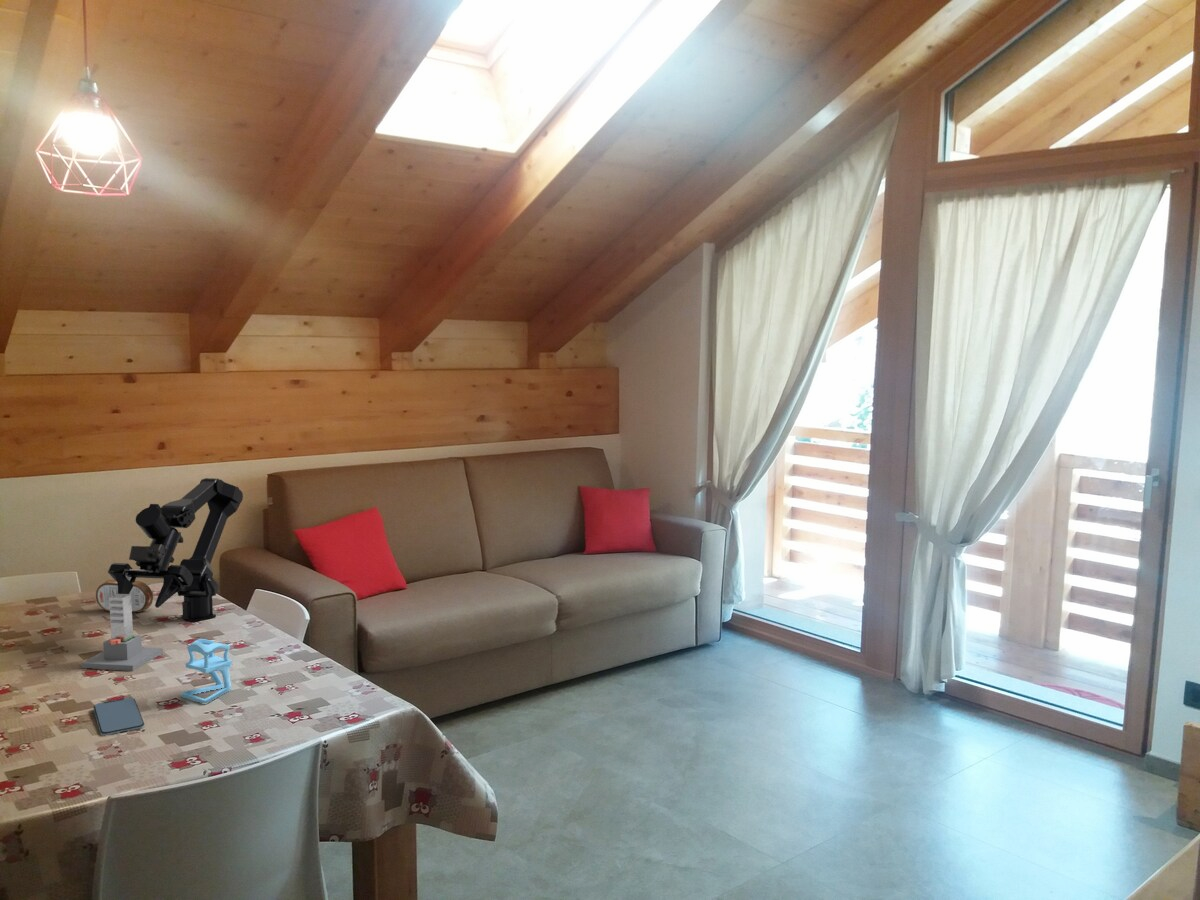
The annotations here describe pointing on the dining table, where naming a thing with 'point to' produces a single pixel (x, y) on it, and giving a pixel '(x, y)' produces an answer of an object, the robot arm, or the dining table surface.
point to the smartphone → (118, 716)
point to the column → (121, 617)
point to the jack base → (122, 655)
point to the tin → (139, 593)
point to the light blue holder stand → (209, 668)
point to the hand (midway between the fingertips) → (137, 606)
